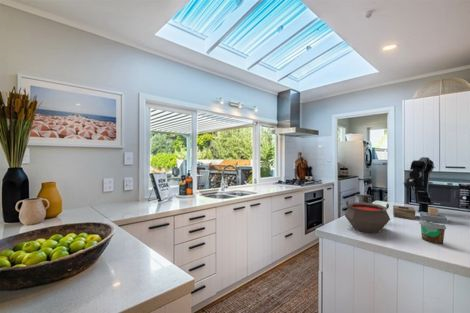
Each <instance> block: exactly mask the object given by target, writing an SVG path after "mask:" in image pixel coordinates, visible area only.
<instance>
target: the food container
mask: <svg viewBox="0 0 470 313" xmlns="http://www.w3.org/2000/svg"><path fill="white" fill-rule="evenodd" d="M418 224H420V230H421V231H420V232H421V234H420V235H421V240H423V241H425V242H427V243H431V244H436V245H437V244H438V245H444V239H445V238H444V237H445V231H446V230H447V226H446V224H440V223H437V222H430V221H426V220H425V218H420V219H419V222H418Z"/></svg>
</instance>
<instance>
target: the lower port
mask: <svg viewBox="0 0 470 313" xmlns="http://www.w3.org/2000/svg"><path fill="white" fill-rule="evenodd" d="M419 215H420V219H422V218H425V220H426V221H430V222H435V223H437V224H444V225H447V224H448V217H446V215H444V213H438V216H431V215H428V212H419Z"/></svg>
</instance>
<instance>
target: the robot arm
mask: <svg viewBox="0 0 470 313" xmlns="http://www.w3.org/2000/svg"><path fill="white" fill-rule="evenodd" d="M434 169H435V163H434V161H433V160H431V159H430V157H426V156H423V157H420V158H419V159H418V160H415V159H414V160H412V162H411V163H410V168H409V170H410V173H409V177H410V178H411V179H412V180H411V181H410V180H409V181H404V182H403V185H404V188H408V187H410V188H411V189H412V190H413V192H414V196H415V204H418V209H417V211H418V212H419V213H420V212H428V207H429V206H432V205H433V201H432V200H433V199H432V198H431V196H430V193H429V192H428V191H429V183H430V182H429V181H430V174H431V173H432V172H433V170H434Z"/></svg>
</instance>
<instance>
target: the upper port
mask: <svg viewBox="0 0 470 313" xmlns="http://www.w3.org/2000/svg"><path fill="white" fill-rule="evenodd" d="M392 206H393V207H392V215H393V218H399V219H406V218H407V219H408V220H414V221H416V210H415V208H414V207H413V206H405V205H403V206H402V205H394V204H392Z"/></svg>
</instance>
